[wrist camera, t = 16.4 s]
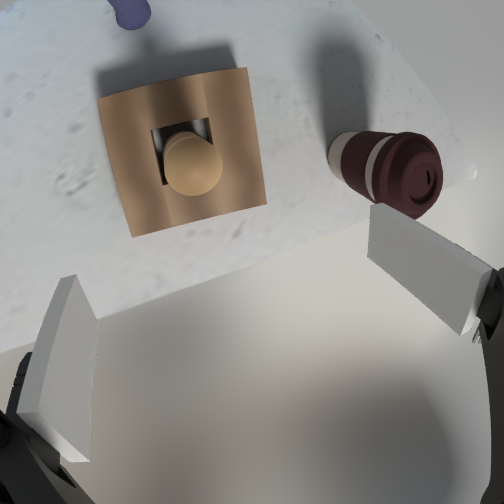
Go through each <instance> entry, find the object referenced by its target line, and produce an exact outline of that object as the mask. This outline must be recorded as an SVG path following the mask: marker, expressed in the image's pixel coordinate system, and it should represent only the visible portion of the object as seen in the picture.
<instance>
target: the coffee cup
mask: <svg viewBox="0 0 504 504" xmlns="http://www.w3.org/2000/svg"><path fill="white" fill-rule="evenodd" d="M328 161H329V166H330V169H331V171H332V172H333V174H334V175H335V176H336V177H337V178H338V179H340V180H341V181H343V182H345V183H346V184H347V185H348V186H349V187H350V188H352V189H353V190H355V191H356V192H358V193H359V194H361V195H363V196H364V197H366V198H367V199H369V200H370V201H372V202H373V203H375V204H379V203H384V204H386V205H388V206H390V207H392V208H394V209H396V210H397V211H399V212H401V213H403V214H405V215H407V216H408V217H410V218H412V219H414V220H416V219H417V218H419V217H421V216H422V215H423V214H424V213H425V212H426V211H427V210H428V209H430V208H431V207H432V206H433V204H434V203H435V202H436V200H437V199H438V197H439V194H440V192H441V189H442V184H443V170H442V165H441V160H440V156H439V153H438V151H437V148H436V147H435V145H434V144H433V143H432V141H431V140H429V139H428V138H427V137H425V136H424V135H421V134H417V133H413V132H402V133H398V134H395V133H385V132H373V131H364V132H346V133H343V134H341V135H339V136H338V137H337V138H336V139H335V140H334V141H333V143H332V144H331V147H330V150H329V154H328Z"/></svg>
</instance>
